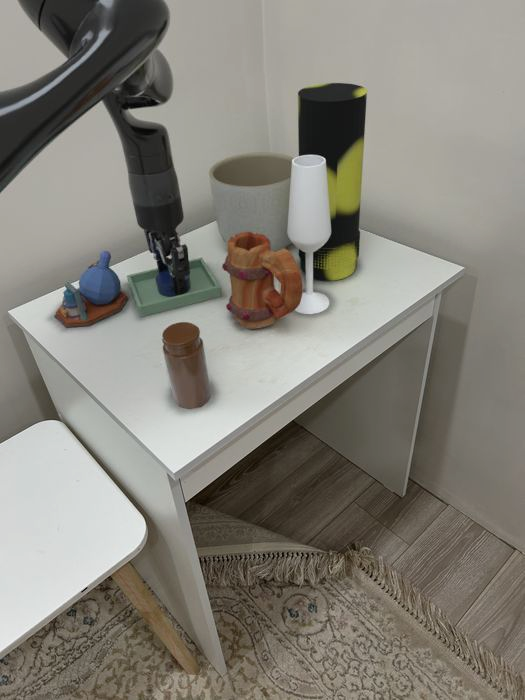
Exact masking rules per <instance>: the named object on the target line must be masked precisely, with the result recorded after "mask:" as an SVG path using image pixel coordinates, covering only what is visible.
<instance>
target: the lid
mask: <svg viewBox="0 0 525 700" xmlns="http://www.w3.org/2000/svg"><path fill="white" fill-rule="evenodd" d="M185 281H186V287H187V292H188V291H189V289H190V287H191V285H190V277H189V275H188V276H185ZM156 284H157V289H158V292H159V293H160V294H161V295H163V296H166V297H174V296H177V295H176V294H175V293H174V291H173V285H172V280H171V276H170V272H169V269H168V270H165V271H162V272H160V273H159V274H158V275H157V276H156ZM184 294H185V293H184ZM181 295H182V294H181Z"/></svg>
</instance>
